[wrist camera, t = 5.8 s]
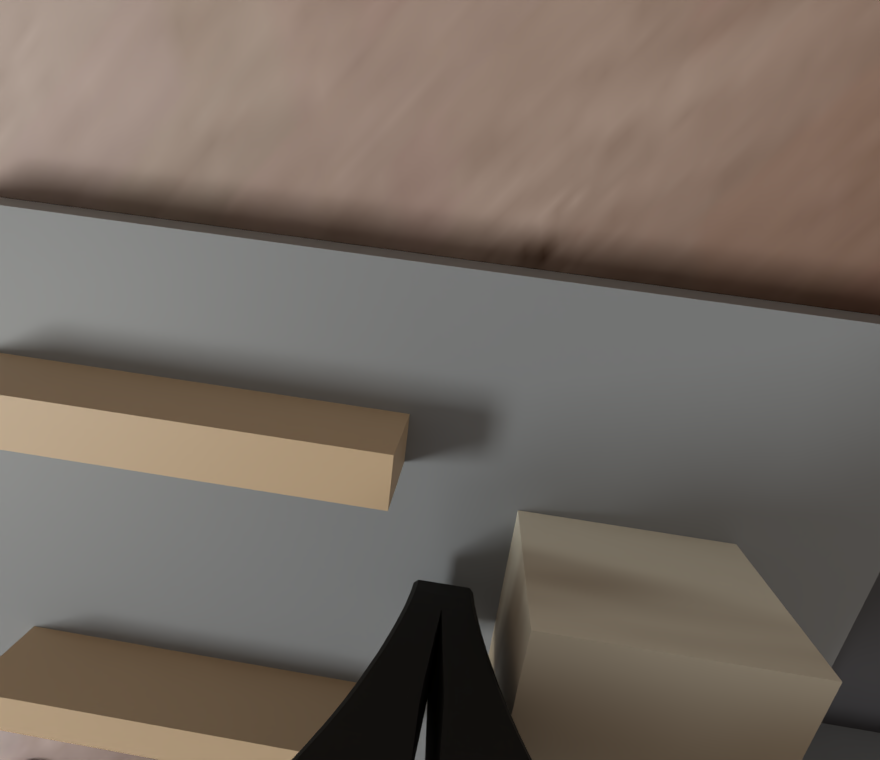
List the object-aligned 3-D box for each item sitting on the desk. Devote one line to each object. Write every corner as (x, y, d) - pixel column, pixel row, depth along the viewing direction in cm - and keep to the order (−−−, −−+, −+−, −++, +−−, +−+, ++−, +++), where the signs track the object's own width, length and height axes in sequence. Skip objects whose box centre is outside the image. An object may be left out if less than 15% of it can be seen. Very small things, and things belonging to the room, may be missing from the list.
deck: (1015, 843, 16) (1180, 1038, 12) (47, 671, 17) (-75, 797, 14) (1380, 382, 11) (1864, 471, 7) (-39, 191, 12) (-274, 179, 8)
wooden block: (675, 703, 13) (742, 873, 9) (485, 670, 13) (485, 825, 10) (736, 544, 11) (842, 682, 8) (517, 510, 11) (531, 630, 8)
